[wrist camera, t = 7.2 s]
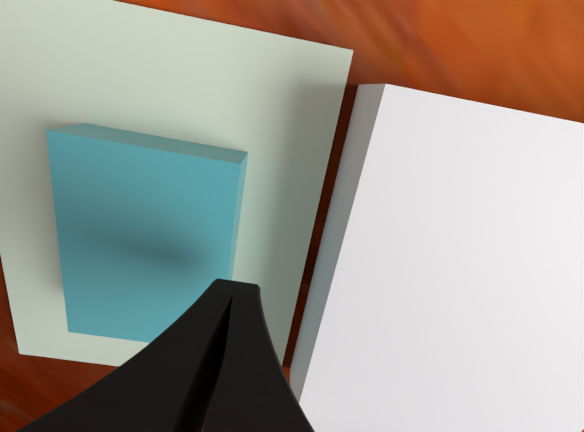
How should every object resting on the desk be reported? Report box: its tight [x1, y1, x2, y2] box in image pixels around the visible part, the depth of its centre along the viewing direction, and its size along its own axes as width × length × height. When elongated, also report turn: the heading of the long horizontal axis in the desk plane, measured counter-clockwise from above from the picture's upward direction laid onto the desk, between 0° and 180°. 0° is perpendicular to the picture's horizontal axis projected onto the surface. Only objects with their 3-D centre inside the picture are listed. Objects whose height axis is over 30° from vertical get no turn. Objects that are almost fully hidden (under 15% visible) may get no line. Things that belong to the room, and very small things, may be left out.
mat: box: [0, 0, 353, 367], centre depth 13 cm, size 16×13×1 cm
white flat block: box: [290, 84, 584, 432], centre depth 13 cm, size 14×12×4 cm
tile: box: [46, 123, 248, 343], centre depth 12 cm, size 8×6×2 cm
